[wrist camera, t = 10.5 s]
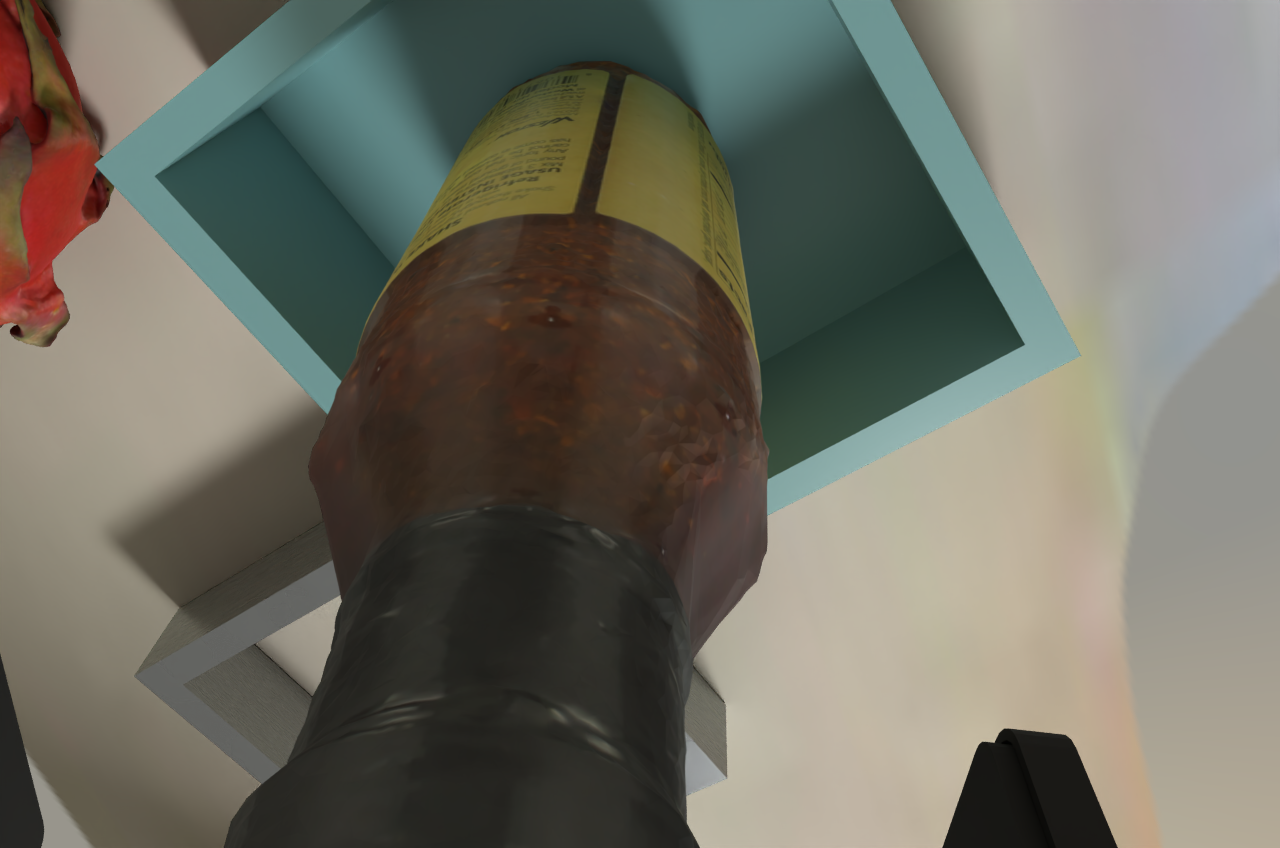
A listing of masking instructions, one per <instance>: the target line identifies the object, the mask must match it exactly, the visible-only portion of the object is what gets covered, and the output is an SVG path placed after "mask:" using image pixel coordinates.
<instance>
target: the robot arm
mask: <svg viewBox="0 0 1280 848" xmlns="http://www.w3.org/2000/svg"><path fill="white" fill-rule="evenodd" d="M43 836H44V825H43V819H42V815H41V812H40V808H39V804H38V800H37V796H36V792H35V788H34V784H33V780H32V776H31V773H30V768H29V765H28V761H27V757H26V753H25V749H24V745H23V741H22V737H21V733H20V729H19V725H18V722H17V718H16V714H15V710H14V706H13V702H12V698H11V694H10V690H9V686H8V682H7V679H6V675H5V671H4V667H3V663H2V659H1V655H0V848H41V846H42V842H43ZM943 848H1118V847H1117V845H1116V843H1115V840H1114V838H1113V835H1112V833H1111V831H1110V828H1109V826H1108V823H1107V821H1106V819H1105V816H1104V814H1103V811H1102V809H1101V807H1100V804H1099V802H1098V799H1097V797H1096V795H1095V792H1094V790H1093V787H1092V785H1091V783H1090V780H1089V778H1088V775H1087V773H1086V771H1085V768H1084V766H1083V763H1082V761H1081V759H1080V756H1079V754H1078V751H1077V749H1076V747H1075V745H1074V744H1073V742H1072V740H1071V739H1070V738H1069V737H1067V736H1066V735H1062V734H1053V733H1044V732H1035V731H1026V730H1017V729H1003V730H1002V731H1001V732H1000V733H999V735H998V737H997V739H996V741H995V743H991V742H981V743H980V744H979V746H978V748H977V750H976V752H975V755H974V758H973V761H972V764H971V767H970V769H969V772H968V775H967V778H966V781H965V784H964V787H963V790H962V793H961V796H960V798H959V801H958V804H957V807H956V810H955V813H954V816H953V819H952V822H951V825H950V827H949V830H948V833H947V836H946V839H945V842H944V845H943Z"/></svg>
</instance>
